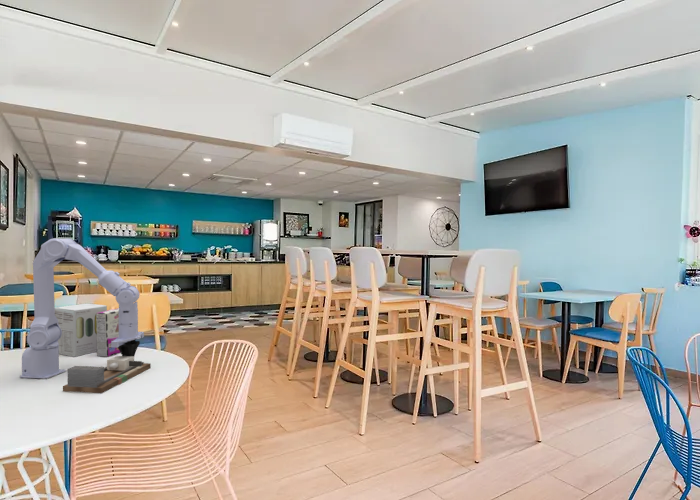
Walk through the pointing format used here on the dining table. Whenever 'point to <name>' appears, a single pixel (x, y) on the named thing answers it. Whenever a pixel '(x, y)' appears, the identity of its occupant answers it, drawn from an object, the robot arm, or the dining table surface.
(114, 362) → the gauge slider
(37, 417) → the dining table surface
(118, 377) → the base
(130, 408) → the dining table surface
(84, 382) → the dark grey block
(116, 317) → the candy bar box
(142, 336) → the robot arm
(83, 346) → the supplement box
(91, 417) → the dining table surface
